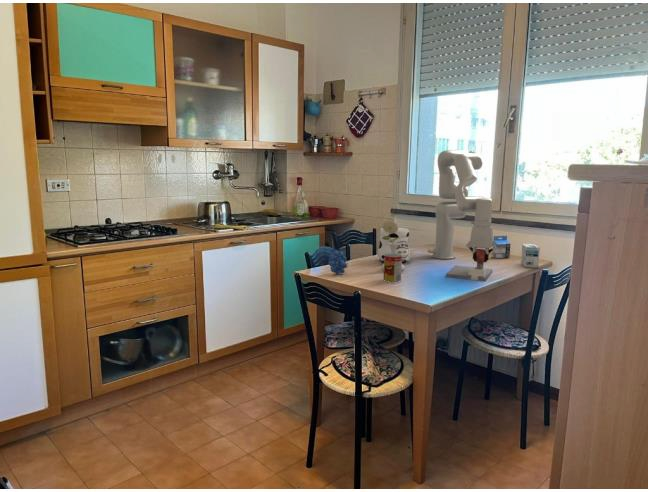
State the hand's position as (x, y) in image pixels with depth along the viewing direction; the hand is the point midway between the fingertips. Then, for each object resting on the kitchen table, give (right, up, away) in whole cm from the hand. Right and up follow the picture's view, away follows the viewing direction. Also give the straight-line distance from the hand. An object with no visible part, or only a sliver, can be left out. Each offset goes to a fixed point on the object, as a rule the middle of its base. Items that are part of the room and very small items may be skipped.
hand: (480, 261), depth 228 cm
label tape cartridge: (+24, 0, +39) cm, 46 cm away
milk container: (-38, -2, +27) cm, 47 cm away
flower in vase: (-42, -5, +7) cm, 43 cm away
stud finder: (-4, -6, -8) cm, 11 cm away
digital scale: (-5, -6, 0) cm, 8 cm away
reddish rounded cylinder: (0, -3, +1) cm, 3 cm away
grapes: (-68, -7, -2) cm, 69 cm away
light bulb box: (+32, -3, +19) cm, 37 cm away
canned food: (-45, -9, -13) cm, 47 cm away
